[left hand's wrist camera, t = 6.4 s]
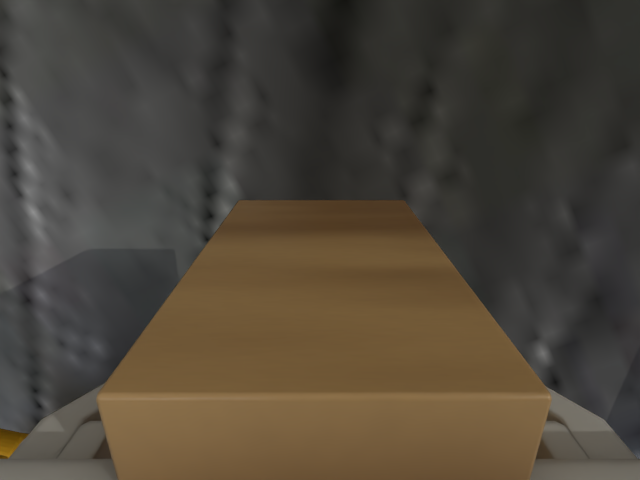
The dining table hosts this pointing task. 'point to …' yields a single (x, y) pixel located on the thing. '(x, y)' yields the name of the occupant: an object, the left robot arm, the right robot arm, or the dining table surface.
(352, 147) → the dining table surface
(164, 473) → the bar
